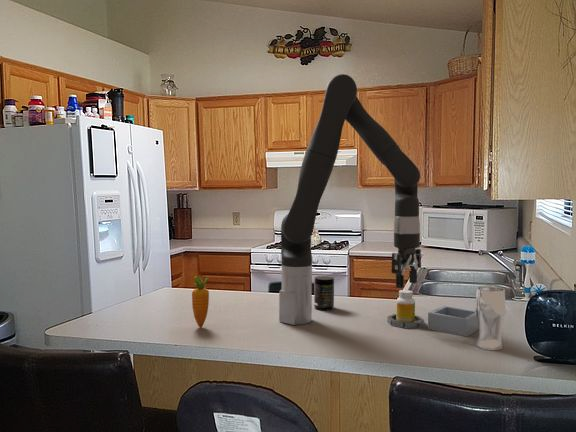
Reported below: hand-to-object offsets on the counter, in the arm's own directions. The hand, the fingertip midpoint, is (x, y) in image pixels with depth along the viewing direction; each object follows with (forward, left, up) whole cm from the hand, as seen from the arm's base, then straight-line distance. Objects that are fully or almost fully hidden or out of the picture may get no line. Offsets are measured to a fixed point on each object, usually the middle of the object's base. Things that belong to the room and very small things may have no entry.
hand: (406, 285), depth 140 cm
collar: (0, 0, -12) cm, 12 cm away
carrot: (-44, +42, -12) cm, 62 cm away
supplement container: (-2, +29, -12) cm, 31 cm away
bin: (+5, -13, -12) cm, 18 cm away
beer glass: (-5, -26, -12) cm, 29 cm away
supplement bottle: (0, 0, -12) cm, 12 cm away
